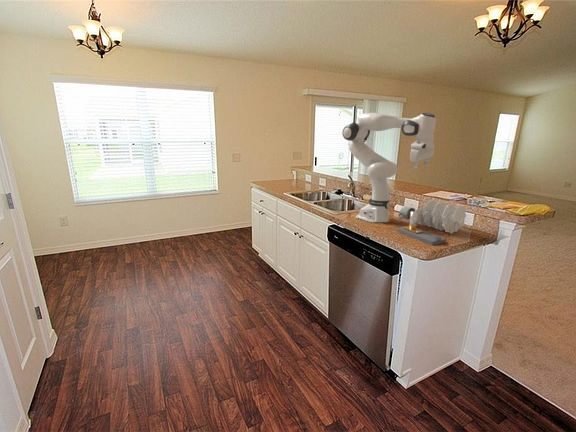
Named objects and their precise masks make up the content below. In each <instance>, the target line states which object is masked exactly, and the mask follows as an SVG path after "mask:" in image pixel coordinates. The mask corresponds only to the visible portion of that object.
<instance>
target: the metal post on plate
mask: <svg viewBox="0 0 576 432" xmlns="http://www.w3.org/2000/svg"><path fill="white" fill-rule="evenodd" d="M417 218H418V212H416V210H415V211H411V213H410V219H409V222H408V223H409V224H408V225H406V226H402V228H404V229H407V230H409V231H412V232H415V233H421V232H424V230H423V229H419V228H417V225H418V221H417Z"/></svg>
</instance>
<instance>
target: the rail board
mask: <svg viewBox="0 0 576 432" xmlns="http://www.w3.org/2000/svg"><path fill="white" fill-rule="evenodd" d="M423 231H424V230H423ZM396 232H397V233H400V234H403V235H405V236H407V237H410V238H413V239H414V240H415V239H416V240H418V241H420V242H422V243H425V244H428V245H430V246H435V245H440V244H445V243H446V241H447V239H446V238H444V237H441V240H438V241H437V240H436V237H434V236H433V235H434V234H433V233H429V232H428V231H424V232H421V233H415V232H412V231H409V230H407V229H404V228H403V227H398V228H397V229H396Z"/></svg>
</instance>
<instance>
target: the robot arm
mask: <svg viewBox="0 0 576 432" xmlns="http://www.w3.org/2000/svg"><path fill="white" fill-rule="evenodd" d="M436 121H437V118H436V115H434V114H433V113H429V112H423V113H420V115H417V116H415V117H411V118H410V117H402V116H393V115H389V114H384V113H379V112H363V113H362V114H360V115H359V117H358V119H357V121H356V122H355V121H354V122H351V123H349V124H347V125H345V126H344V127H343V128H342V132H341V133H342V137H343V139H344V140H345V141H346V140H347V141H351V142H350V144H349V146H348V148H349V149H348V150H349V152H350V153H351V155H352V156H353V157H354V158H355V159H356V160H357V161H359V163H361V164H362V165H363V166H364V167H366V168H367V171H366V174H367V176H368V178H369V180H370V181H371V188H372V189H371V198H370V199H367V202H368V204H366V205H365V206H363V207H361V208H360V210H359V214H356V215H355V218H356V219H358V218H359V220H361V219H362V220H361V221H365V222H369V223H388V222H390V221H391V220H390V217H389V215H390V214H389V209H390V191H391V190H390V189H391V188H390V186H389V185H388V180H387V179H389V178H393V177H394V176H395V175H397V174H398V169H399V168H398V165H397V164H396V163H395V162H392V161H390V160H389V159H388V158H385V157H384V156H382V155H380V154H378V153H377V152H376V151H374V150H373V149H372V148H371V147H370V146H369V145H367V144H366V143H365V142H366V141H368V138H369V137H370V134H371V131H373V132H382V131H387V130H390V129H400V130H401V133H402V134H403V135H404V136H406V137H411V136H416V139H415V140H414V141H413V142H412V143H411V145H410V149H411V150H410V153H409V162H412V163H413V165H414V167H413V168H414V169H419V168H420V167H419V166H420V165H419V162H420V161H423V160H424V161H423V162H422V165H423V166H427V165H428V162H429V160H430V158H432V157H433V156H434V154H435V144H434V143H435V142H434V138H435V137H434V133H435V130H436V125H437V124H436Z"/></svg>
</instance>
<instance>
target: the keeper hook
mask: <svg viewBox="0 0 576 432" xmlns="http://www.w3.org/2000/svg"><path fill="white" fill-rule="evenodd" d="M433 236H434V237H436V240H437V241H438V240H441V237H442V236H443V235H438V234H433ZM442 238H443V237H442Z"/></svg>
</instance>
